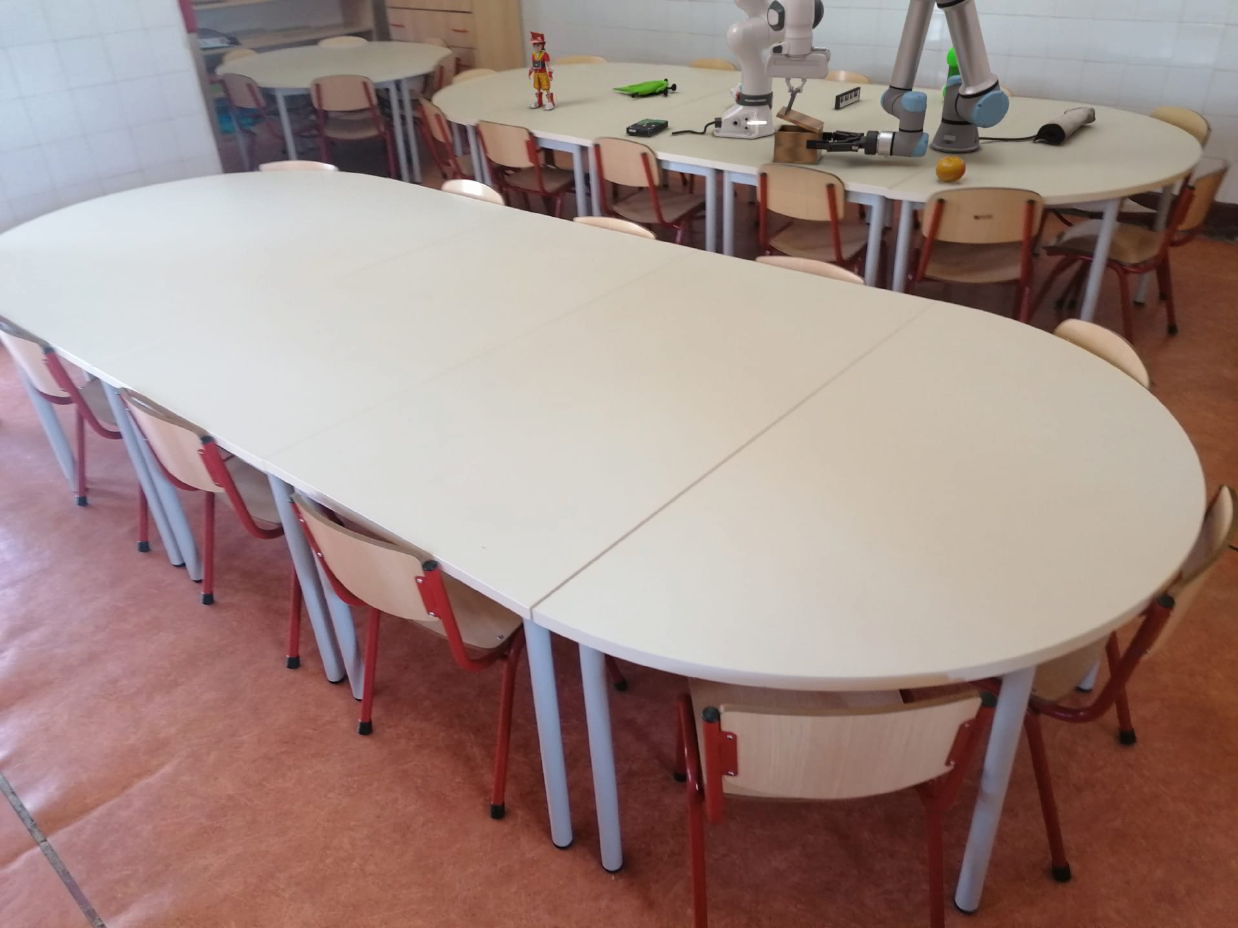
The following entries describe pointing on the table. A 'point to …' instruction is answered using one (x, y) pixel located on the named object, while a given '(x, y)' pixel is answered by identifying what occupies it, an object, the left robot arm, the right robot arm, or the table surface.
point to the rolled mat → (1065, 125)
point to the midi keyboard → (847, 97)
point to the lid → (799, 116)
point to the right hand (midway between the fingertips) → (809, 140)
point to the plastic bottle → (951, 66)
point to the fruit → (950, 169)
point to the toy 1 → (541, 71)
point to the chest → (795, 145)
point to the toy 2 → (648, 88)
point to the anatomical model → (735, 89)
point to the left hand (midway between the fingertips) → (795, 92)
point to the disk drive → (647, 127)
